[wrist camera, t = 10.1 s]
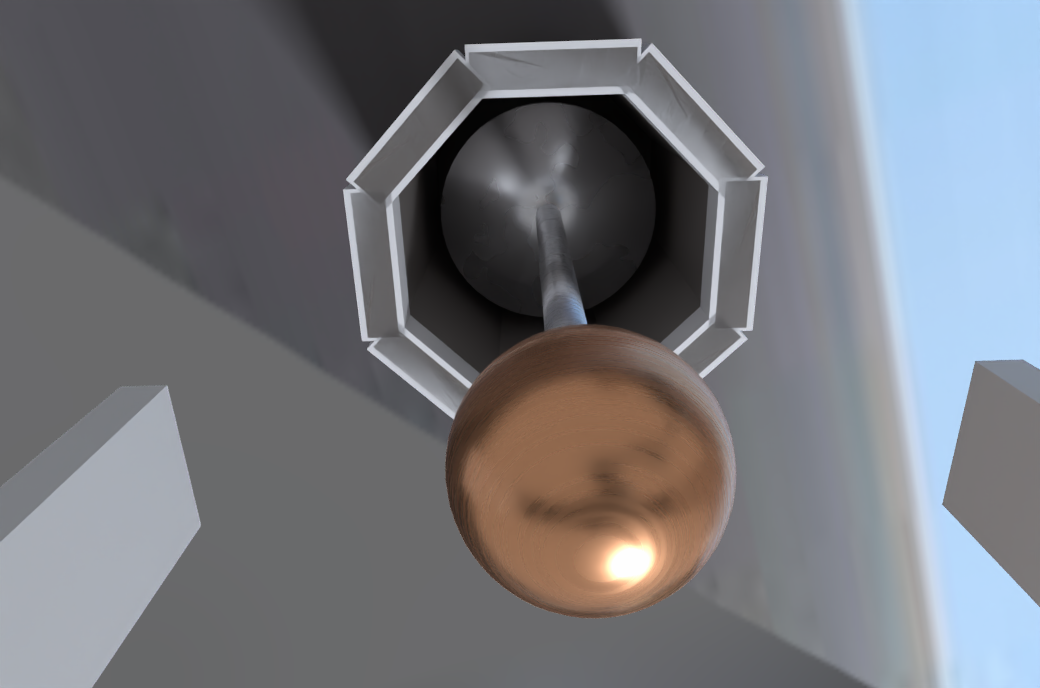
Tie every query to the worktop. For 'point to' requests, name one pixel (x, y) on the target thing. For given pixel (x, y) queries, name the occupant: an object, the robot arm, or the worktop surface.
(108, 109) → the worktop surface
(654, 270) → the grey octagonal tube
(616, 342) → the copper ball knob
